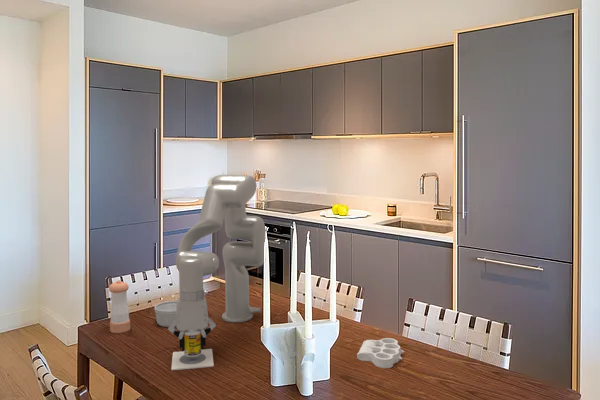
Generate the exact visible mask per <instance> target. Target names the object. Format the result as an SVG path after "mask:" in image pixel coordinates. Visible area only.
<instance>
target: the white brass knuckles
mask: <svg viewBox="0 0 600 400" xmlns="http://www.w3.org/2000/svg"><path fill="white" fill-rule="evenodd" d="M403 353H405V350H403V349H401V346H400V345H399V341H398V340H397V339H395V338H392V337H391V338H390V337H385V338H384V337H383V338H381V339H378V340H375V339H366V340H364V341H362V345H361V347H359V351H358V352H357V354H356V358H357V359H358V360H359V361H361V362H369V363H370V362H371V363H373V365H374V366H376V367H378V368H380V369H390V368H393V366H394V364H397V363H398V362H400V361H401V360H404V358H403V357H402V356H401V354H403Z"/></svg>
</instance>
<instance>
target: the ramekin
mask: <svg viewBox="0 0 600 400" xmlns="http://www.w3.org/2000/svg"><path fill="white" fill-rule="evenodd" d="M176 306H177V300H166V301H162V302H159V303H157V304H155V306H154V314H155V320H156V322H157V324H158V325H159V326H160V327H163V328H168V327H169V326H170V325H171V324H172V323H173V321H174V320H175V319H176Z"/></svg>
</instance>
